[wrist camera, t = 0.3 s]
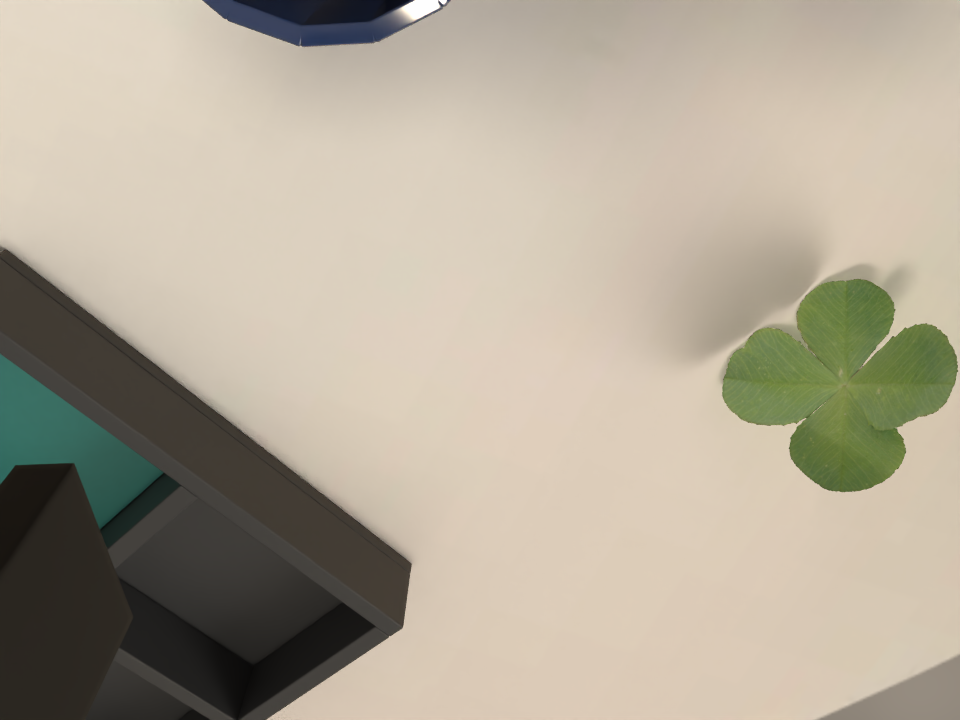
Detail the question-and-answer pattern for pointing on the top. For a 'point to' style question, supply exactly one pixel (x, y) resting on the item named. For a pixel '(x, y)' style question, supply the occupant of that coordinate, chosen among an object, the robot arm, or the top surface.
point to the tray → (189, 524)
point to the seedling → (842, 383)
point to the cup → (326, 18)
